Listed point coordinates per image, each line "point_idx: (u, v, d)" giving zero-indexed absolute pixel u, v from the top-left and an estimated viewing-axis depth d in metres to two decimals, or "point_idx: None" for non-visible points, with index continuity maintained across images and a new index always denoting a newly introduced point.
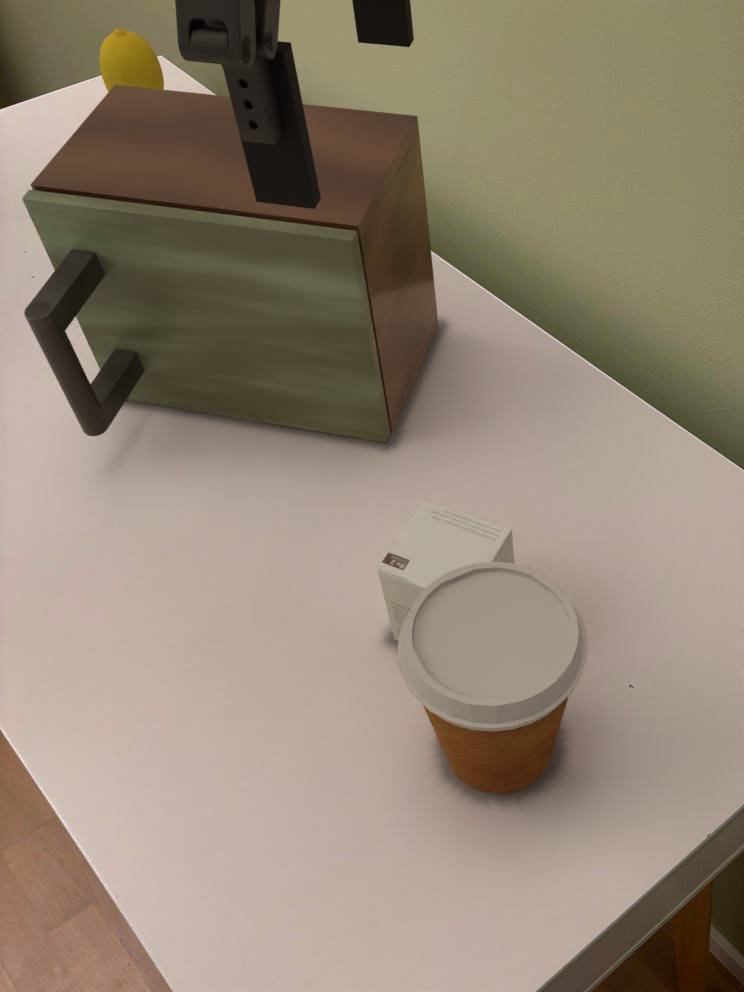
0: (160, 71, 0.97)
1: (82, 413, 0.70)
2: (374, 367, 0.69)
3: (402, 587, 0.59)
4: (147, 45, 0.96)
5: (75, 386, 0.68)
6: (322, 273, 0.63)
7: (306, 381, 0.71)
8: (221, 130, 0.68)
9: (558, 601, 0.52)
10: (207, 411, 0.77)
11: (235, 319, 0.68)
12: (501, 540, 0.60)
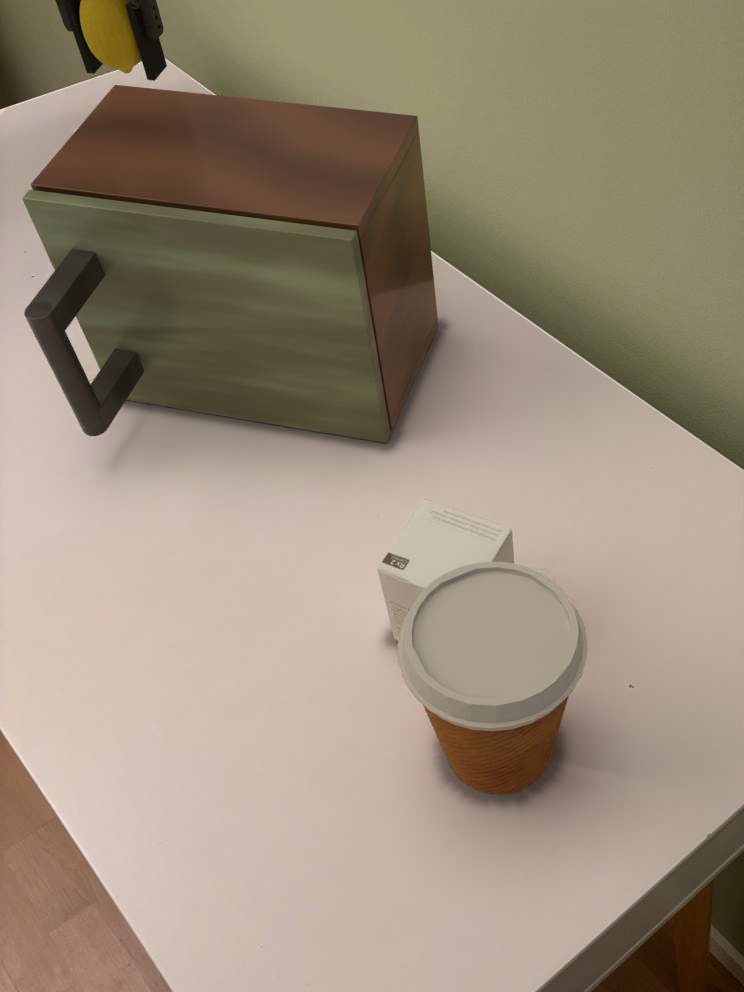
0: None
1: (82, 413, 0.70)
2: (374, 367, 0.69)
3: (402, 587, 0.59)
4: None
5: (75, 386, 0.68)
6: (322, 273, 0.63)
7: (306, 381, 0.71)
8: (221, 130, 0.68)
9: (558, 601, 0.52)
10: (207, 411, 0.77)
11: (235, 319, 0.68)
12: (501, 540, 0.60)
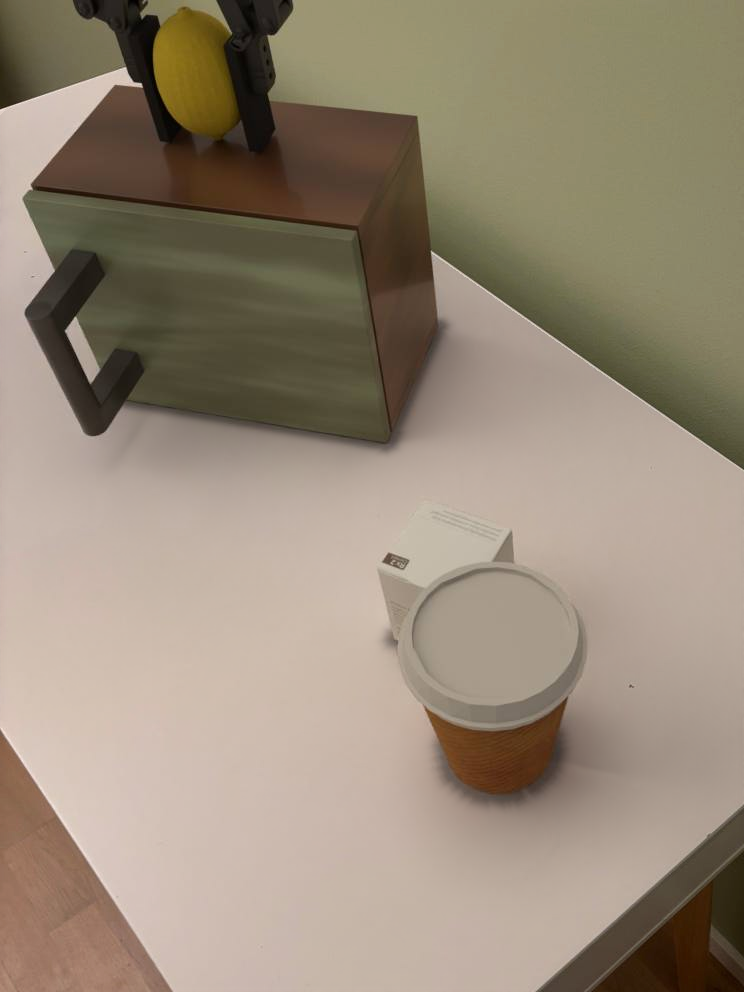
0: None
1: (82, 413, 0.70)
2: (374, 367, 0.69)
3: (402, 587, 0.59)
4: (227, 33, 0.62)
5: (75, 386, 0.68)
6: (322, 273, 0.63)
7: (306, 381, 0.71)
8: None
9: (558, 601, 0.52)
10: (207, 411, 0.77)
11: (235, 319, 0.68)
12: (501, 540, 0.60)
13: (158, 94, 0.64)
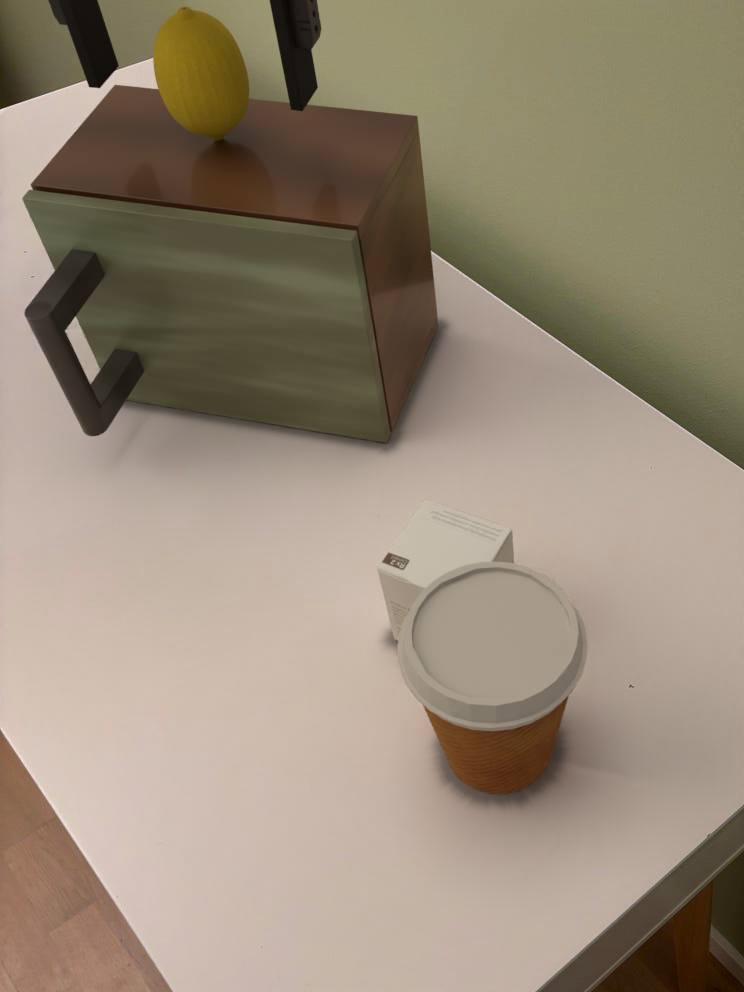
0: (245, 73, 0.63)
1: (82, 413, 0.70)
2: (374, 367, 0.69)
3: (402, 587, 0.59)
4: (228, 33, 0.62)
5: (75, 386, 0.68)
6: (322, 273, 0.63)
7: (306, 381, 0.71)
8: None
9: (558, 601, 0.52)
10: (207, 411, 0.77)
11: (235, 319, 0.68)
12: (501, 540, 0.60)
13: (85, 36, 0.62)
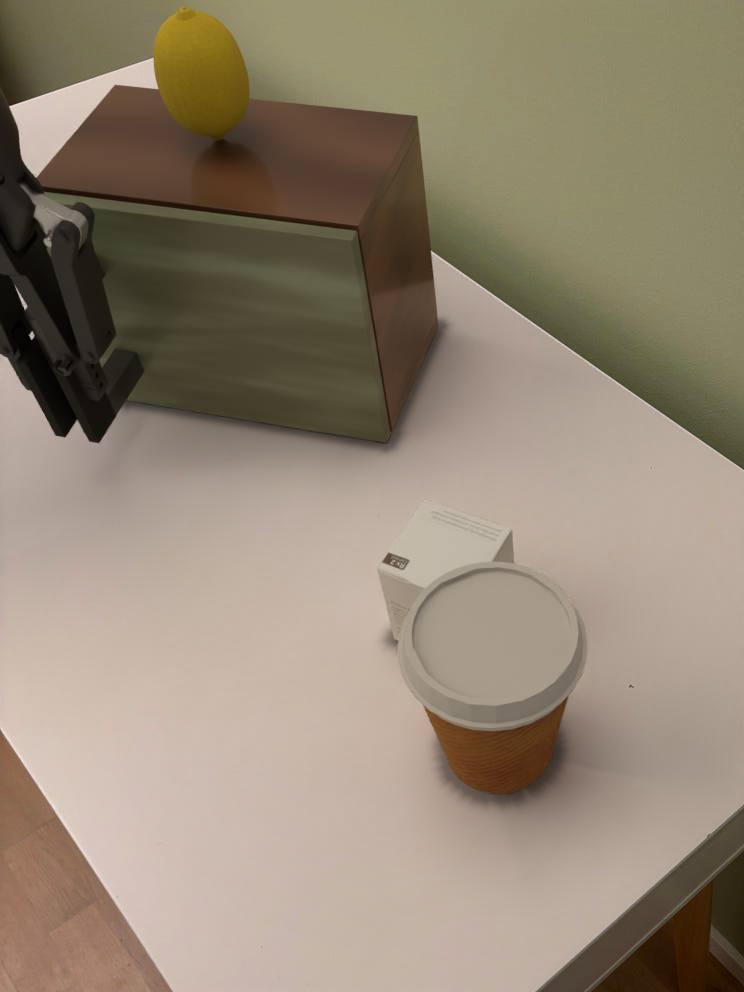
0: (245, 73, 0.63)
1: None
2: (374, 367, 0.69)
3: (402, 587, 0.59)
4: (228, 33, 0.62)
5: None
6: (322, 273, 0.63)
7: (306, 381, 0.71)
8: None
9: (558, 601, 0.52)
10: (207, 411, 0.77)
11: (235, 319, 0.68)
12: (501, 540, 0.60)
13: (50, 402, 0.68)
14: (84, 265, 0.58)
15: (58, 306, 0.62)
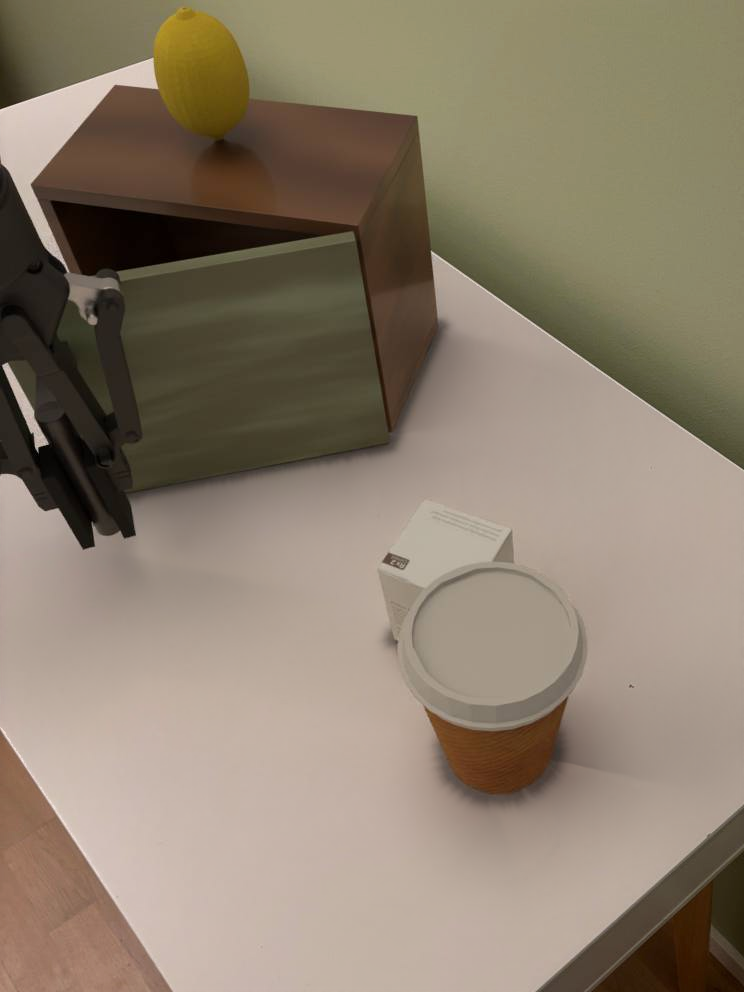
0: (245, 73, 0.63)
1: (102, 512, 0.65)
2: None
3: (402, 587, 0.59)
4: (228, 33, 0.62)
5: (94, 484, 0.63)
6: (324, 285, 0.63)
7: (305, 406, 0.70)
8: None
9: (558, 601, 0.52)
10: (194, 477, 0.73)
11: (228, 364, 0.66)
12: (501, 540, 0.60)
13: (76, 512, 0.62)
14: (120, 336, 0.55)
15: (86, 396, 0.57)
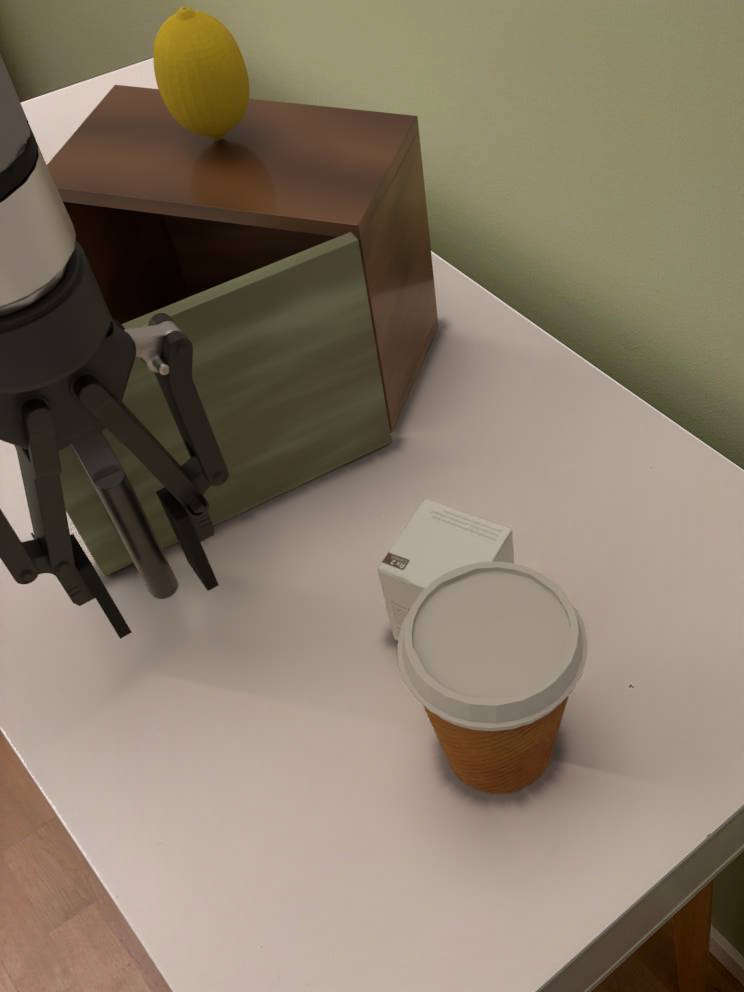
0: (245, 73, 0.63)
1: (162, 573, 0.62)
2: (378, 367, 0.69)
3: (402, 587, 0.59)
4: (228, 33, 0.62)
5: (154, 544, 0.60)
6: (330, 291, 0.62)
7: (315, 422, 0.69)
8: None
9: (558, 601, 0.52)
10: (212, 523, 0.71)
11: (243, 395, 0.64)
12: (501, 540, 0.60)
13: None
14: None
15: (163, 449, 0.54)
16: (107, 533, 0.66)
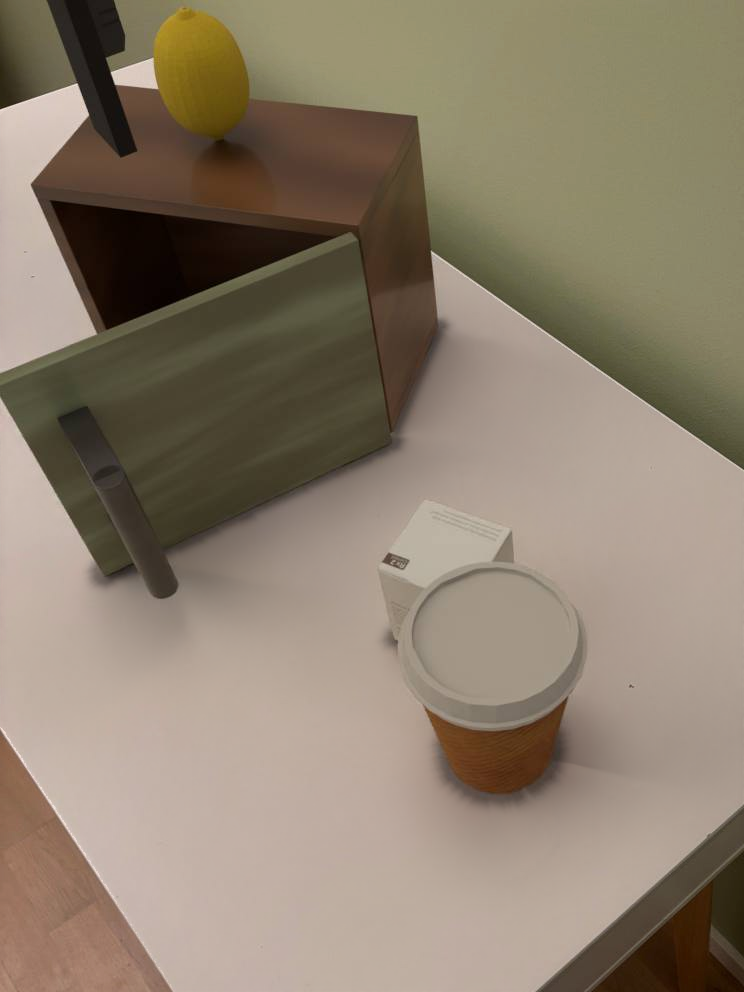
0: (245, 73, 0.63)
1: (162, 573, 0.62)
2: (378, 367, 0.69)
3: (402, 587, 0.59)
4: (228, 33, 0.62)
5: (154, 544, 0.60)
6: (330, 291, 0.62)
7: (315, 422, 0.69)
8: None
9: (558, 601, 0.52)
10: (212, 523, 0.71)
11: (243, 395, 0.64)
12: (501, 540, 0.60)
13: None
14: None
15: None
16: (107, 533, 0.66)
